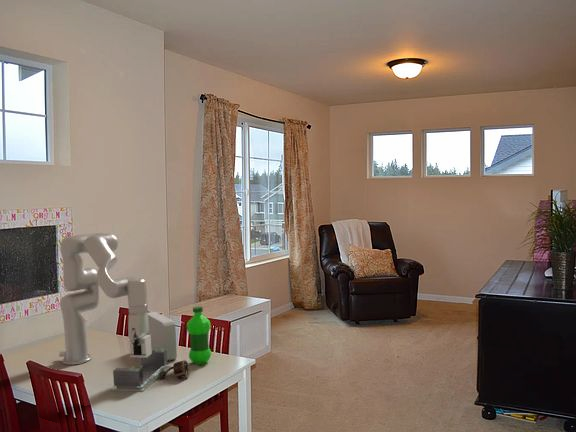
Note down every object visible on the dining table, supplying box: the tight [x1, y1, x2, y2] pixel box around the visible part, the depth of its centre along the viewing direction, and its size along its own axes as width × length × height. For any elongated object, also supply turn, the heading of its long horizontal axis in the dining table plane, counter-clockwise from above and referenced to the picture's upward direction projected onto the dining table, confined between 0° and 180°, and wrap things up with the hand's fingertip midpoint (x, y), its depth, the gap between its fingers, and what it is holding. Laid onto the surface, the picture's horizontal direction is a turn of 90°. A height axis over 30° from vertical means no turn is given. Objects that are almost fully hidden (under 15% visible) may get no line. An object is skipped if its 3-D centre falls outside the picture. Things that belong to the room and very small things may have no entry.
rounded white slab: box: [147, 311, 178, 362], centre depth 253 cm, size 29×8×18 cm, turn 33°
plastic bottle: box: [186, 305, 212, 366], centre depth 236 cm, size 10×10×25 cm
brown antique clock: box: [158, 359, 191, 380], centre depth 220 cm, size 7×13×10 cm
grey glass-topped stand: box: [109, 348, 172, 392], centre depth 220 cm, size 14×27×9 cm, turn 169°
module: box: [128, 335, 152, 359], centre depth 220 cm, size 7×5×8 cm
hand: (140, 352), depth 220 cm, fingers closed on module, 5 cm apart
